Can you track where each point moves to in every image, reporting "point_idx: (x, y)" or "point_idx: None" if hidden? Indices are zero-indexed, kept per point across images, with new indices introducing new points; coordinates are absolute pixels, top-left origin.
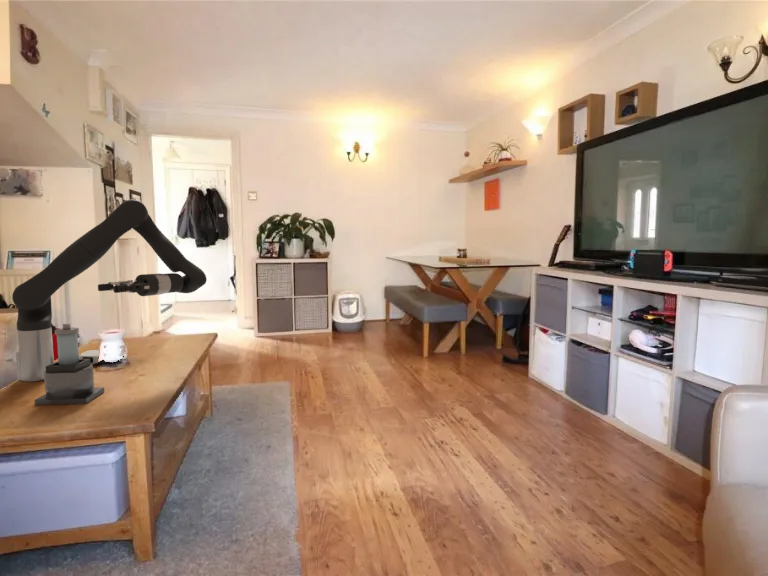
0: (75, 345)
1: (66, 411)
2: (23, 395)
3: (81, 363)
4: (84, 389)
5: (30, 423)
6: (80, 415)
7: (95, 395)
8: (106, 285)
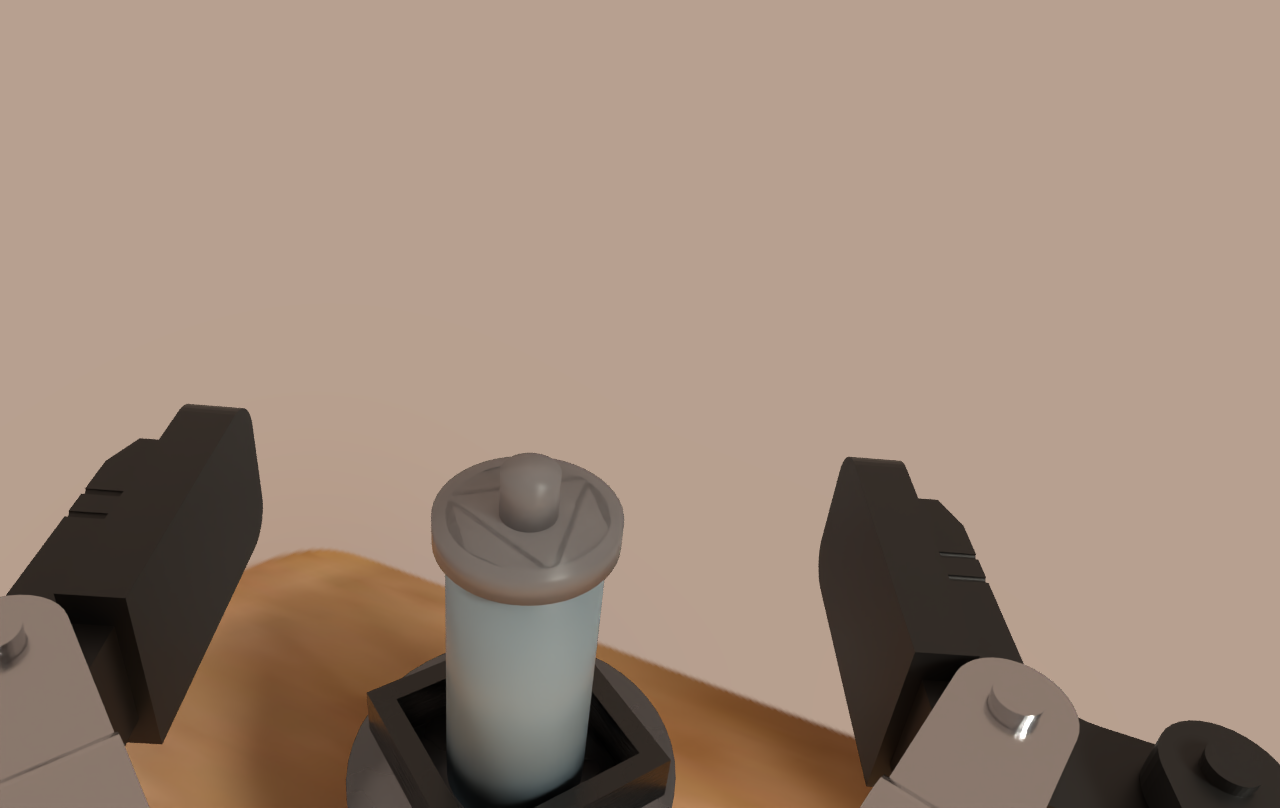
0: (447, 639)
1: (306, 758)
2: (834, 797)
3: (402, 760)
4: None
5: (335, 618)
6: (164, 757)
7: None
8: (871, 593)
